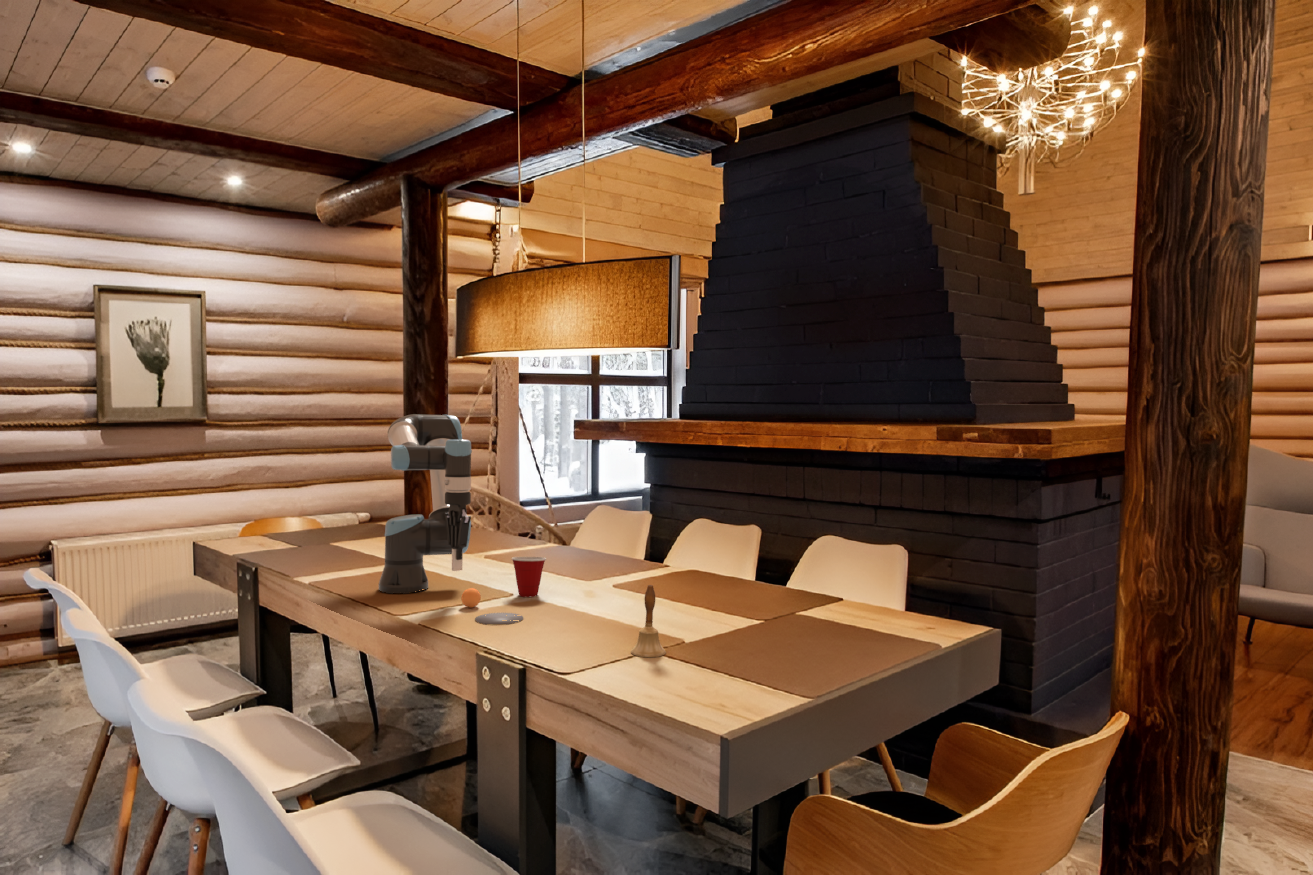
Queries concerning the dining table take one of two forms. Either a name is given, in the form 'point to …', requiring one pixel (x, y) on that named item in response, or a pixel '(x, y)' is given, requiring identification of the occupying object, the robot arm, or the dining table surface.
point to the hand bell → (648, 631)
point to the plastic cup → (528, 574)
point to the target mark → (498, 618)
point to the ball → (471, 597)
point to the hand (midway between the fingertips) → (457, 570)
